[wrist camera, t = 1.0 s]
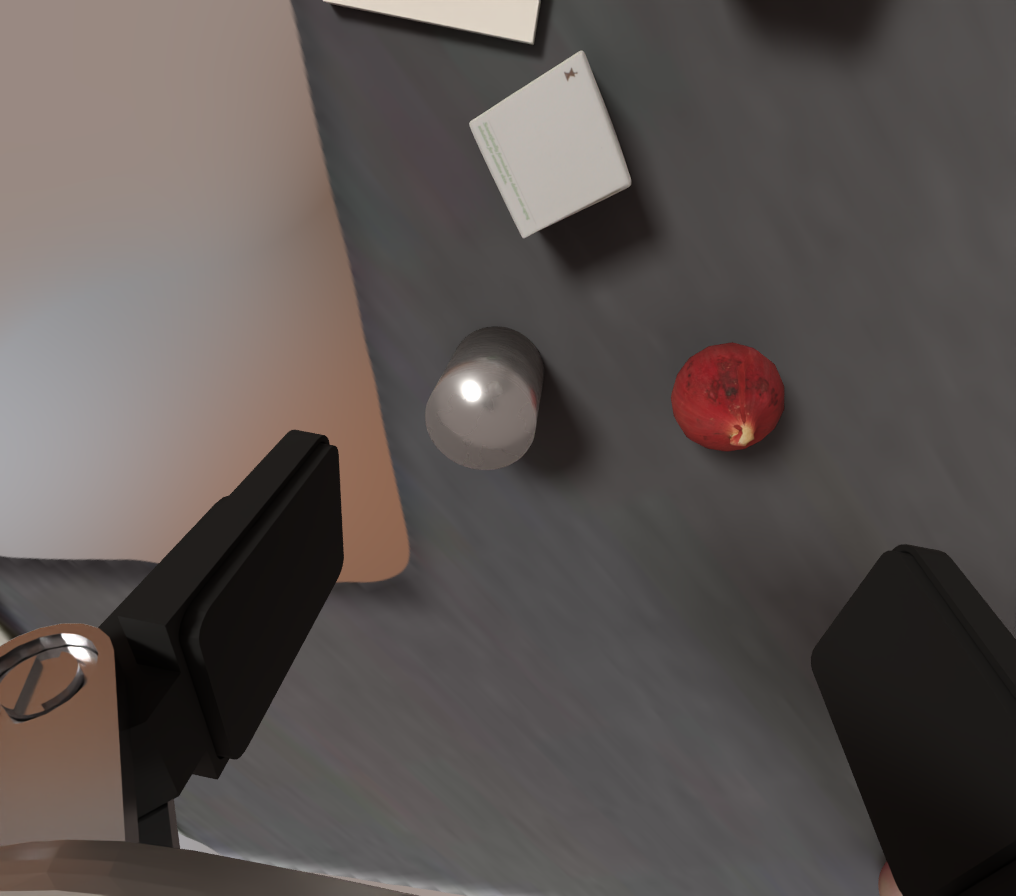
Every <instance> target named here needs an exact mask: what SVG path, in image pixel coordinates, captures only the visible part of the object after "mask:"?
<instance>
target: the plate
mask: <svg viewBox="0 0 1016 896" xmlns="http://www.w3.org/2000/svg"><path fill="white" fill-rule="evenodd" d="M323 1H325V2H327V3H329V4H333V5H338V6H343V7H348V8H353V9H358V10H363V11H368V12H373V13H378V14H383V15H388V16H393V17H398V18H402V19H407V20H412V21H417V22H422V23H427V24H432V25H437V26H442V27H447V28H452V29H457V30H462V31H467V32H472V33H477V34H482V35H486V36H491V37H496V38H501V39H506V40H511V41H516V42H521V43H526V44H531V45H534V41H535V34H536V28H537V22H538V15H539V9H540V3H541V0H323Z"/></svg>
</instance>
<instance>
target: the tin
mask: <svg viewBox="0 0 1016 896" xmlns="http://www.w3.org/2000/svg"><path fill="white" fill-rule="evenodd" d="M543 379H544V365H543V361H542V358H541V355H540V353H539V351H538V350H537V348H536V347H535V345H534V344H533V343H532V342H531V341H530V340H529V339H528V338H527V337H525V336H524V335H523V334H521V333H519V332H517V331H515V330H512V329H509V328H506V327H494V326H493V327H486V328H482V329H479V330H476V331H474V332H473V333H471V334H469V335H468V336H467V337H465V339H464V340H463V341H462V342H461V343H460V344H459V346H458V347H457V349H456V351H455V353H454V355H453V356H452V358H451V360H450V362H449V364H448V365H447V367H446V369H445V371H444V373H443V374H442V376H441V378H440V380H439V382H438V383H437V385H436V387H435V389H434V391H433V392H432V394H431V396H430V398H429V400H428V403H427V406H426V412H425V420H426V426H427V430H428V433H429V435H430V437H431V439H432V441H433V443H434V444H435V445H436V447H437V448H438V449H439V450H440V451H441V452H442V453H443V454H444V455H445V456H447V457H448V458H449V459H451V460H452V461H454V462H456V463H458V464H460V465H463V466H465V467H469V468H472V469H478V470H493V469H499V468H502V467H506V466H508V465H510V464H512V463H514V462H516V461H517V460H518V459H520V458H521V457H522V456H523V455H524V454H525V453H526V452H527V450H528V449H529V447H530V446H531V444H532V442H533V439H534V436H535V430H536V423H537V417H538V411H539V405H540V398H541V392H542V386H543Z"/></svg>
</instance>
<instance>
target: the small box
mask: <svg viewBox="0 0 1016 896" xmlns="http://www.w3.org/2000/svg"><path fill="white" fill-rule="evenodd" d="M469 125H470V128H471V131H472V133H473V135H474V137H475V140H476V142H477V144H478V146H479V149H480V151H481V153H482V155H483V157H484V159H485V161H486V163H487V166H488V168H489V170H490V172H491V174H492V176H493V178H494V180H495V182H496V184H497V187H498V189H499V191H500V193H501V195H502V197H503V199H504V201H505V203H506V205H507V207H508V210H509V212H510V214H511V216H512V218H513V220H514V222H515V224H516V226H517V228H518V230H519V232H520V234H521V236H522V238H526V237H528V236H529V235H531V234H533V233H535V232H537V231H539V230H541V229H543V228H545V227H548V226H550V225H552V224H554V223H556V222H558V221H560V220H562V219H564V218H566V217H569V216H571V215H573V214H575V213H577V212H579V211H581V210H583V209H585V208H587V207H590V206H592V205H594V204H596V203H598V202H600V201H602V200H604V199H606V198H608V197H610V196H612V195H614V194H616V193H618V192H620V191H622V190H624V189H626V188H628V187H630V186H631V177H630V174H629V171H628V168H627V165H626V162H625V159H624V156H623V153H622V150H621V147H620V144H619V141H618V138H617V135H616V132H615V130H614V127H613V124H612V122H611V119H610V116H609V114H608V111H607V108H606V106H605V103H604V100H603V98H602V95H601V93H600V90H599V88H598V85H597V83H596V80H595V78H594V75H593V73H592V70H591V68H590V65H589V63H588V60H587V57H586V55H585V53H584V51H579V52H577V53H576V54H574V55H573V56H571V57H570V58H568V59H567V60H565V61H564V62H562V63H560V64H559V65H557V66H556V67H554V68H553V69H551V70H550V71H548V72H546V73H545V74H543V75H542V76H540V77H539V78H537V79H535V80H534V81H532V82H531V83H529V84H528V85H526V86H524V87H523V88H521V89H520V90H518V91H517V92H515V93H514V94H512V95H510V96H509V97H507V98H506V99H504V100H503V101H501V102H500V103H498V104H497V105H495V106H494V107H492V108H490V109H489V110H487V111H486V112H484V113H483V114H481V115H480V116H478V117H477V118H475V119H473V120H472V121H471V122H470V124H469Z"/></svg>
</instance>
